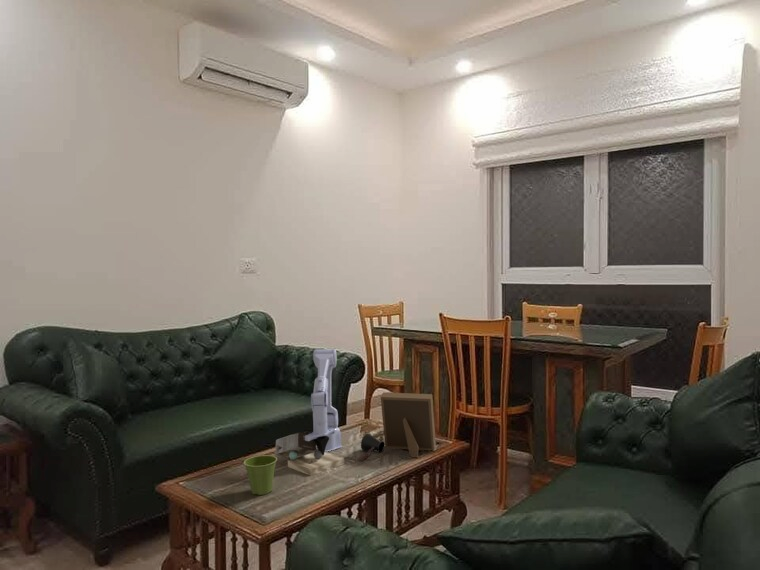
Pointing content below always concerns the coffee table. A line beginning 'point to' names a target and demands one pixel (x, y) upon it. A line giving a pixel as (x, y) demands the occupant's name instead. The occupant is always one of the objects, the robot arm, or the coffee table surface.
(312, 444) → the coffee box
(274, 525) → the coffee table surface
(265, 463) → the plant pot
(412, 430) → the photo frame
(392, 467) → the coffee table surface
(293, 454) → the teal ball
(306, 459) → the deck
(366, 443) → the coffee pot
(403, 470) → the coffee table surface
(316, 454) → the ball
